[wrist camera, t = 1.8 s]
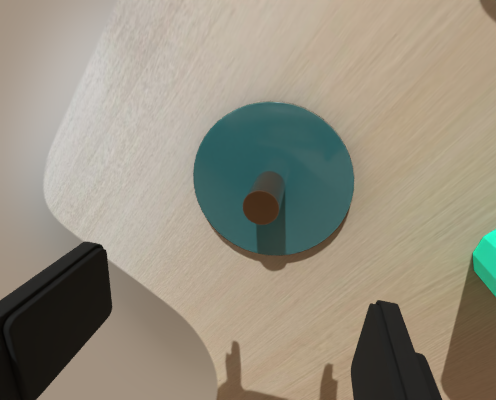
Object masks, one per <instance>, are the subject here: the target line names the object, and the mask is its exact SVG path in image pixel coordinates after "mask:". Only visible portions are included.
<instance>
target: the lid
mask: <svg viewBox="0 0 496 400" xmlns="http://www.w3.org/2000/svg"><path fill="white" fill-rule="evenodd" d="M193 176H194V188H195V193H196V197H197V200H198V203H199V205H200V207H201V210H202V212H203V213H204V215H205V217H206V218H207V220H208V221H209V222H210V224H211V225H212V226H213V227H214V228H215V229H216V230H217V231H218V232H219V233H220V234H221V235H222V236H223V237H224V238H226V239H227V240H229V241H230V242H232V243H233V244H235V245H237V246H239V247H241V248H243V249H246V250H248V251H251V252H255V253H259V254H264V255H290V254H294V253H299V252H302V251H305V250H308V249H310V248H312V247H314V246H316V245H318V244H319V243H321V242H322V241H324V240H325V239H326V238H327V237H329V236H330V235H331V234H332V233H333V232H334V231H335V230H336V229H337V227H338V226H339V225H340V224H341V222H342V221H343V219H344V218H345V216H346V214H347V211H348V209H349V207H350V204H351V201H352V196H353V191H354V173H353V166H352V162H351V159H350V155H349V153H348V151H347V149H346V146H345V144H344V143H343V141H342V139H341V138H340V136H339V135H338V134H337V132H336V131H335V130H334V129H333V127H332V126H331V125H329V124H328V123H327V122H326V121H325V120H324V119H323V118H321V117H320V116H318V115H317V114H315V113H314V112H312V111H310V110H308V109H306V108H304V107H301V106H298V105H295V104H291V103H286V102H278V101H266V102H257V103H253V104H249V105H246V106H243V107H241V108H238V109H236V110H234V111H232V112H230V113H229V114H227V115H225V116H224V117H223V118H222V119H220V120H219V121H218V122H217V123H216V124H215V125H214V126H213V127H212V128H211V129H210V130H209V132H208V133H207V134H206V136H205V137H204V139H203V141H202V143H201V144H200V147H199V149H198V152H197V155H196V159H195V163H194V173H193Z"/></svg>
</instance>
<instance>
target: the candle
mask: <svg viewBox="0 0 496 400" xmlns="http://www.w3.org/2000/svg"><path fill="white" fill-rule="evenodd" d="M473 265H474V271H475V272H476V274H477V275H478V276H479V277H480V278H481V280H482V281H483V282H484V283H485V285H486V286H487V287H488V288H489V289H490V291H491V292H492V293H493V294H494V296H495V297H496V229H495V230H494V231H492V232H490V233H489V234H487V235H485V236H484V237H483V238H482V240H481V241H480V243H479V244H478V246H477V247H476V249H475V251H474V252H473Z"/></svg>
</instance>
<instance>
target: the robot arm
mask: <svg viewBox="0 0 496 400" xmlns="http://www.w3.org/2000/svg"><path fill="white" fill-rule="evenodd" d="M111 310H112V300H111V291H110V281H109V271H108V261H107V253H106V250H105V249H103V246H102V245H100V244H96V243H91V242H83V243H81V244H80V245H79V246H77V247H76V248H74V249H73V250H72V251H70V252H69V253H67V254H66V255H64V256H63V257H61V258H60V259H59V260H57V261H56V262H54V263H53V264H52V265H50V266H49V267H47V268H46V269H44V270H43V271H42V272H40V273H39V274H37V275H36V276H34V277H33V278H32V279H30V280H29V281H27V282H26V283H25V284H23V285H22V286H20V287H19V288H17V289H16V290H15V291H13V292H12V293H10V294H9V295H7V296H6V297H5V298H3V299H2V300H0V400H36V399H37V398H38V397H39V396H40V395H41V394H42V393H43V391H44V390H45V389H46V388H47V387H48V386H49V385H50V383H51V382H52V381H53V380H54V379H55V378H56V377H57V375H58V374H59V373H60V372H61V371H62V370H63V369H64V367H65V366H66V365H67V364H68V363H69V362H70V361H71V359H72V358H73V357H74V356H75V355H76V354H77V352H78V351H79V350H80V349H81V348H82V347H83V346H84V344H85V343H86V342H87V341H88V340H89V339H90V338H91V336H92V335H93V334H94V333H95V332H96V331H97V330H98V328H99V327H100V326H101V325H102V324H103V323H104V322H105V320H106V319H107V318H108V316H109V315H110V313H111ZM351 379H352V388H353V397H354V400H442V398H441V395H440V393H439V390H438V388H437V385H436V383H435V380H434V377H433V375H432V372H431V370H430V367H429V365H428V362H427V360H426V358H425V356H424V355H423V354H420V353H416V352H415V351H414V348H413V345H412V342H411V339H410V337H409V334H408V331H407V328H406V325H405V323H404V320H403V317H402V314H401V312H400V309H399V306H398V305H397V304H395V303H390V302H385V301H380V300H378V301H377V302H376V304H372V303H371V304H370V305H369V308H368V311H367V315H366V318H365V321H364V325H363V328H362V331H361V334H360V338H359V341H358V344H357V348H356V351H355V354H354V358H353V361H352V365H351Z"/></svg>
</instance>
